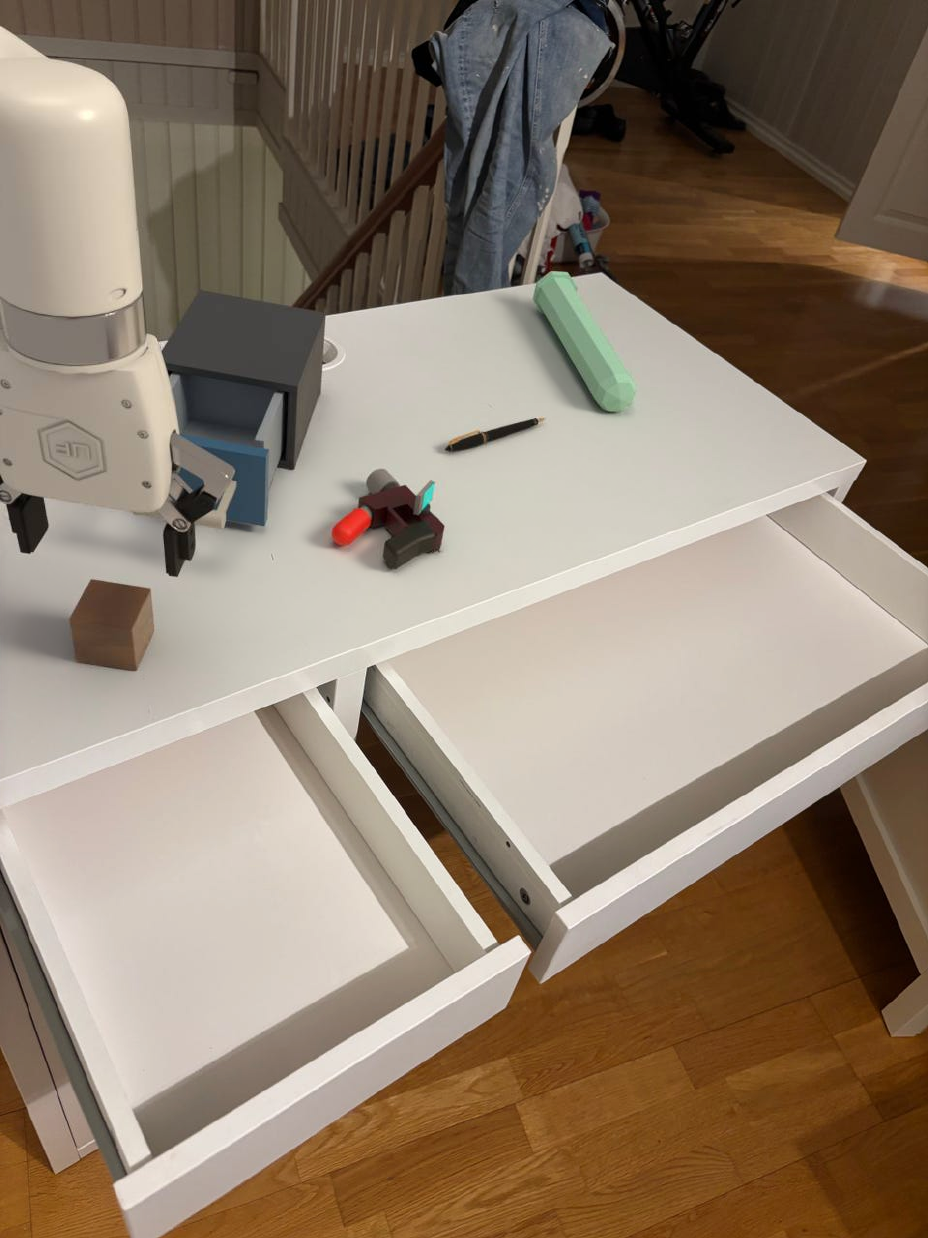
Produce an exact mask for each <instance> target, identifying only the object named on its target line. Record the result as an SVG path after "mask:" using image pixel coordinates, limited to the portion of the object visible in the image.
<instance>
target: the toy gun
mask: <svg viewBox="0 0 928 1238" xmlns="http://www.w3.org/2000/svg"><path fill="white" fill-rule="evenodd" d="M365 485H366V486H365V487H366V488H367V490H368V491H369V492H370V494H367V495H364V496H361V497H358V503H357V507H355V508H354V509H352V510H351V511H349V513H347V514H346V515H345V516H344V517H343V518H341V519H340V520H339V521H338V522H337V523H336V524H335V525H333V526H332V529H331V532H330V533H331V538H332V540H333V542H334V543H336V544H337V545H339V546H342V547H343V546H348V545H350V544H352V543H353V542H354V541H355V540H356V539H357V538H359V537H360V535H362V534H363V533H364V532H366V530H367V529H369V527H372V528H373V529H374V528H377V527H381V526H384V527H385V529H386V530H387V531H388V532H389V533H390V534H391V535H392V536H391V537H390V538H388V539H387V540H385V542H384V544H383V549H382V550H383V551H382V558H383V560H384V561H385V562H386V564H388V566H389V567H390V568H391V569H393V570H397V569H398V568H400V567H401V566H403V565H405V564H406V563H408V562H409V561H411V560H412V559H415V558H416V557H417V556H419V555H423V554H426V553H429V552H432V553H436V552H439V551H440V549H441V547H442V542H443V537H444V532H445V524H444V523H442V521H441V520H440V519H438V517H437V516H436V515H435V514H434V513H433V512H432V511H431V507H432V506H431V504H430V503H431V502H432V500H433V496H434V490H435V486H436V482H435V481H434V480H432V479H430V480H429V481H428V482H427V483H426V484H425V485H424V486H423V487H422V489H421V490H420V491H419V492H418V493H417V494H415V493H414V492H413V491H412V490H411V489H410V488H409V487H408V486H407V485H406V484H403V485H400V483H399V482H398V480H396V478H395V477H394V476H393V475H392V474H390V472H388V470H387V469H385V468H377V469H375V470H373V471H372V472H371V473H370V474H369V475H368V476H367V478H366V482H365Z"/></svg>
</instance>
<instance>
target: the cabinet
mask: <svg viewBox="0 0 928 1238" xmlns="http://www.w3.org/2000/svg"><path fill="white" fill-rule="evenodd" d="M326 316H327V313H326V312H322V311H317V310H312V309H307V308H301V307H295V306H290V305H285V304H279V303H274V302H269V301H263V300H257V299H252V298H247V297H242V296H237V295H231V294H225V293H220V292H216V291H215V292H214V291H209V290H204V289H199V290H198V292H197V293H196V294H195V297H194V298H193V300H192V302H191V303H190V304H189V306H188V308H187V309H186V311H185V312H184V314H183V316H182V317H181V319H180V321H179V322H178V324H177V325H176V326H175V328H174V330H173V332H172V334H171V335H170V337H169V338H168V339H167V340H166V343H165V345H164V346H163V347H162V349H161V352H162V355H163V359H164V362H165V365H166V369H167V372H168V376H169V377H170V375H171V373H172V372H173V371H174V372H179V373H185V374H191V375H196V376H202V377H207V378H213V379H219V380H224V381H230V382H235V383H241V384H246V385H252V386H258V387H263V388H269V389H274V390H280V391H286V392H289V398H288V422H287V441H286V444H285V446H284V449H283V452H282V454H281V457H280V460H279V463H278V465H277V468H280V469H281V468H282V469H289V470H295V467H296V465H297V464H296V463H297V461H298V458H299V456H300V452H301V450H302V447H303V444H304V442H305V438H306V435H307V432H308V430H309V427H310V424H311V421H312V418H313V415H314V412H315V409H316V406H317V404H318V401H319V398H320V395H321V391H322V378H323V377H322V376H323V362H324V361H323V360H324V345H325V331H326V319H327V318H326Z"/></svg>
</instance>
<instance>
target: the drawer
mask: <svg viewBox="0 0 928 1238" xmlns="http://www.w3.org/2000/svg"><path fill="white" fill-rule="evenodd" d="M169 380H170V384H171V388H172V393H173V398H174V403H175V408H176V415H177V421H178V428H179V435H180V436H182V437H184V438H186V439H187V440H189V441H191V442H192V443H194V444H196V445H197V446H199V447H201V448H203V449H204V450H206V451H208V452H209V453H211V454H213V455H214V456H216V457H218V458H220V459H221V460H223V461H225V462H226V463H228V464H230V465H231V466H232V467H233V468H234V470H235V473H234V475H233V478H232V480H231V482H230V485H229V486H228V488H227V489H226V491H225V492H224V494H223V495H222V497H221V498H220V499H219V500H218V502H217V503H216V505H215V506H214V509H213V510H212V511H211V512H209V513H208V514H206V515H204V516H203V517H201V518H200V519H198V520H197V521H195V525H196V526H202V527H206V528H213V529H219V530H224V529H225V526H226V523H227V521H228V522H234V523H239V524H240V523H241V524H246V525H253V526H257V527H258V526H259V527H265V526H266V523H267V520H268V509H269V508H268V506H269V504H268V503H269V489H270V487H271V485H272V481H273V478H274V475H275V474H276V470H277V468H278V467H277V465H278V463H279V460H280V457H281V454H282V452H283V449H284V446H285V444H286V441H287V422H288V398H289V392H286V391H280V390H274V389H269V388H263V387H258V386H252V385H246V384H241V383H235V382H230V381H224V380H219V379H213V378H207V377H202V376H196V375H191V374H185V373H179V372H174V371H173V372H172V373H171V375H170V377H169ZM178 475H179V476H180V477H181V478H182V480H183V481H184V482H185V483H186V484H187V485H188V486H189V487H190V488H191V489H192V490H193V491H194V490H195V489H197V488H198V487H200V486H201V485H203V484H204V482H203V480H202V479H201V478H199V477H197V476H195V475H194V474H192V473H190V472H189V471H187V470H185V469H183V468H182V467H181V468H180V471H179V473H178ZM169 496H170V497H171V498H172V499H173V500H174V501H175V502H177V501H176V500H175V499H174V498H173V497H172V496H171V495H170V494H169ZM133 514H134V515H136V516H142V517H147V518H148V517H149V518H153V519H161V520H165V519H164V518H163V517H162V516H161V515H160V514H159V513H158V512H157V511H152V512H133Z"/></svg>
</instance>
